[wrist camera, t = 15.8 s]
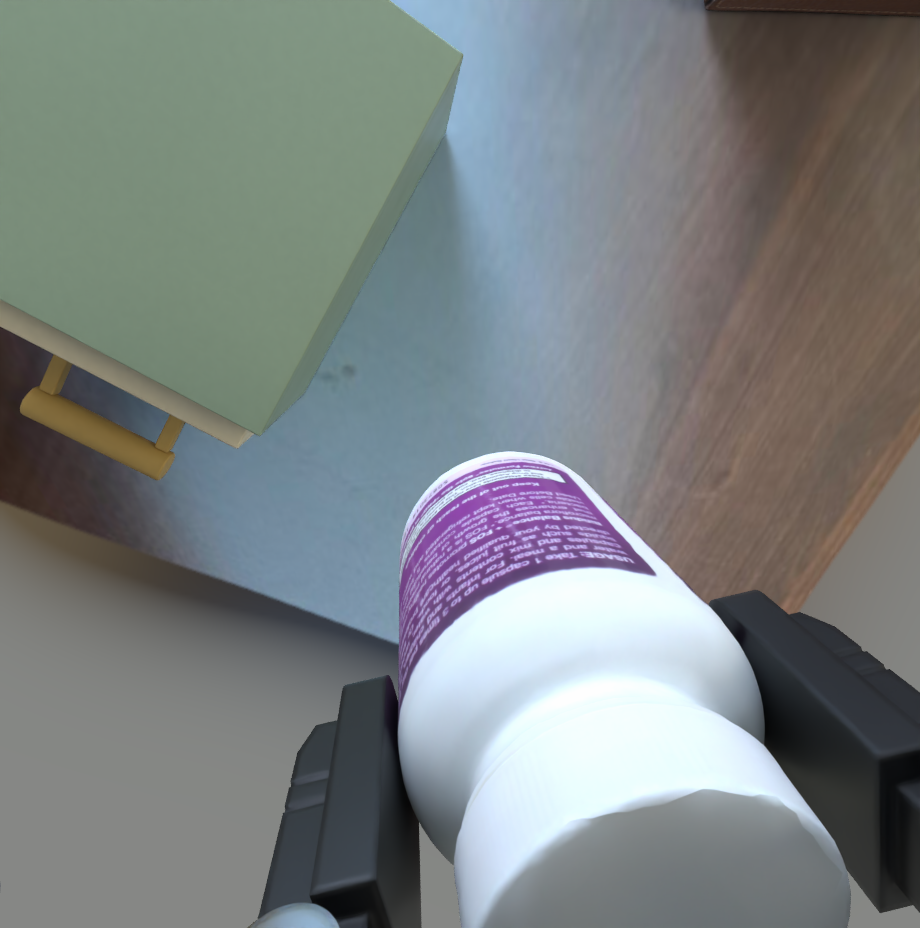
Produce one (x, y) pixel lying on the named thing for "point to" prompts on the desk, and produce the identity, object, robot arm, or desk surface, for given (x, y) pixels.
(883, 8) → the letter holder
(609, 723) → the pill bottle
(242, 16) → the cabinet
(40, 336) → the drawer
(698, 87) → the desk surface
